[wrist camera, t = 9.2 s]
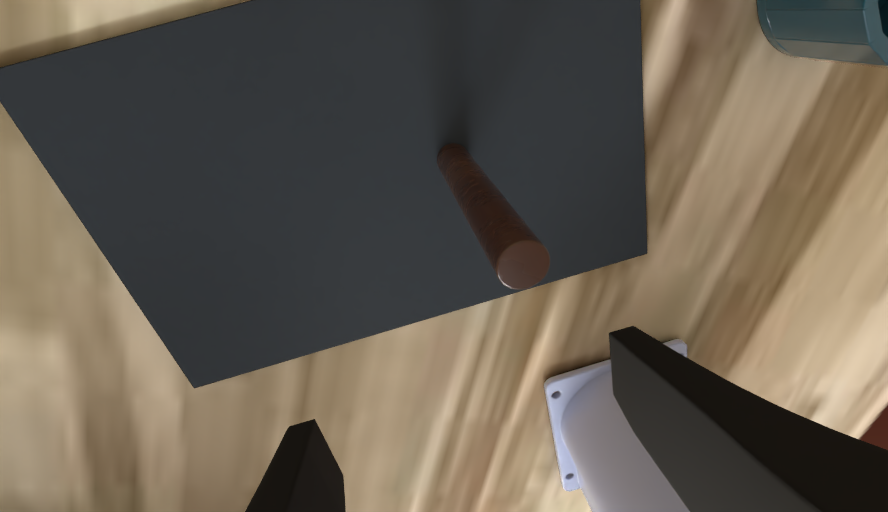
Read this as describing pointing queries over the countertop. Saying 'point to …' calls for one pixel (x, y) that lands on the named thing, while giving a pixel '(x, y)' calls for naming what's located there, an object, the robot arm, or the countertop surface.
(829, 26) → the espresso cup
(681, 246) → the countertop surface
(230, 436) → the countertop surface
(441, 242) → the mat
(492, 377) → the countertop surface
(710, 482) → the robot arm
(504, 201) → the stirring stick
